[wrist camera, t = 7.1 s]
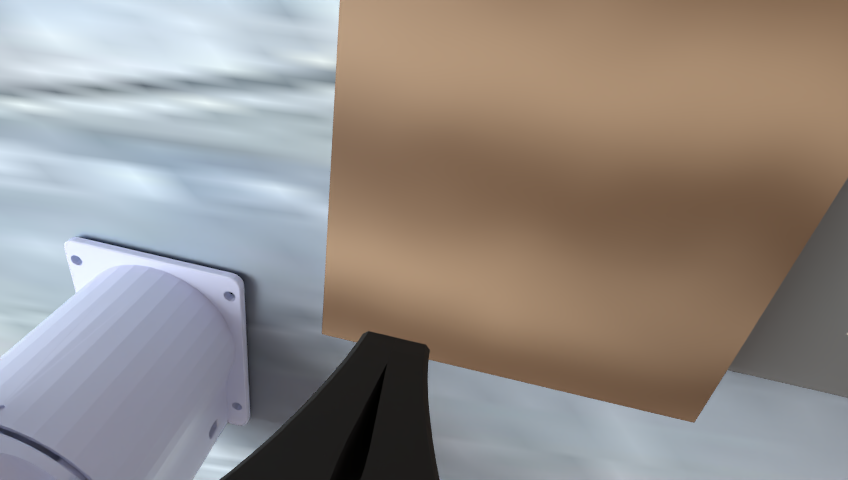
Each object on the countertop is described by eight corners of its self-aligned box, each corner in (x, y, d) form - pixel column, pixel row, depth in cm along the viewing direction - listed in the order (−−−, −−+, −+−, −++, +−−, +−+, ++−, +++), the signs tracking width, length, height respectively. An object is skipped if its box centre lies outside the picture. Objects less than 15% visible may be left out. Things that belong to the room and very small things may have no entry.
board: (673, 350, 21) (694, 422, 19) (350, 276, 22) (321, 334, 20) (889, -51, 14) (982, -37, 11) (386, -136, 15) (347, -144, 12)
